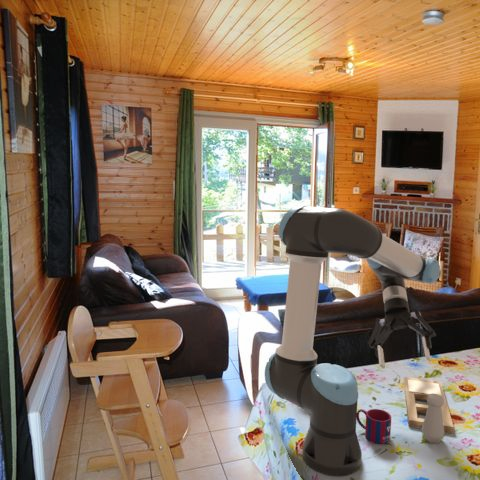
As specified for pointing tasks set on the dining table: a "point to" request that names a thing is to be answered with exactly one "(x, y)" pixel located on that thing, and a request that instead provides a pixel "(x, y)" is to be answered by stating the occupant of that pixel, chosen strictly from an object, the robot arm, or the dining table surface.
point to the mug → (376, 425)
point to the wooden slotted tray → (424, 402)
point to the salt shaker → (433, 419)
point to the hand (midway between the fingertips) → (404, 362)
